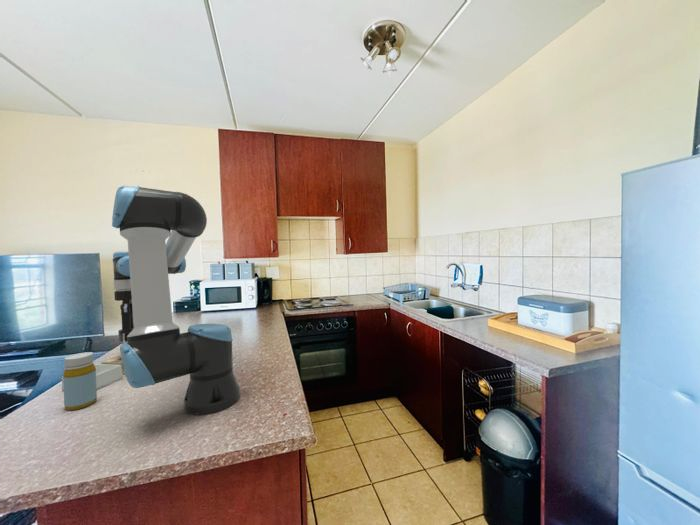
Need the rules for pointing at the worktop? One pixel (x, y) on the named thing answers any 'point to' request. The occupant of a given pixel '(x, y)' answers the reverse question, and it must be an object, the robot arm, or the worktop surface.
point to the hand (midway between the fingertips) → (128, 346)
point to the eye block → (115, 362)
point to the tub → (105, 375)
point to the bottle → (79, 381)
